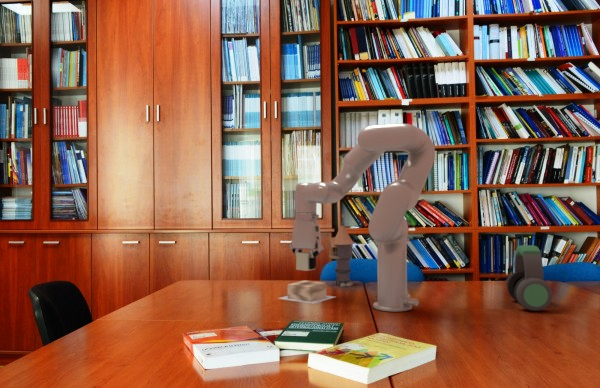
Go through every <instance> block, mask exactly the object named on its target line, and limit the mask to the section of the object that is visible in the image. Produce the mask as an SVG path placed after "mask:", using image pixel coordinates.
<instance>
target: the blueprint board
mask: <svg viewBox="0 0 600 388" xmlns="http://www.w3.org/2000/svg"><path fill="white" fill-rule="evenodd" d="M333 298H334V299H335V298H336V296H334V295H333V296H332V295H327V294H326V297H324V298H321V299H318V300H314V301H311V302H309V301H302V300H295V299H288V296H287V295H285V296H282V297H278V298H277V299H279V300H283V301H284V300H285V301H291V302H300V303H306V304H318V303H322V302H325V301H328V300H331V299H333Z"/></svg>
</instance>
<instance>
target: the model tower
mask: <svg viewBox="0 0 600 388" xmlns="http://www.w3.org/2000/svg"><path fill="white" fill-rule="evenodd" d="M343 218H345V214H344V213H341V223H340V224H339V228H338V231H337V234H336V235H335V236H334V237H329V238H328V243H327V246H326V247H328V253H329V255H328V256H329V259H332V260H336V267H335V269H334V272H335V273H336V279H335V282H334V283H335V286H337V287H341V288H343V287H352V286H354V283H353V282H352V281H351V279H350V273H351V272H352V270H351V269H350V268H351V265H350V264H351V260H352V257H353V245H355V243H354V241H353V240H352V238H351V236H350V234H349V232H348V230H347V229H346V226H345V224H344V222H343Z"/></svg>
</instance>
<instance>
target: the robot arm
mask: <svg viewBox="0 0 600 388" xmlns="http://www.w3.org/2000/svg"><path fill="white" fill-rule="evenodd" d="M356 141H357V143H356V145H354V146H353V148H352V149H350V150H349V151H348V152H347V153H346V154H345V156H344V157H343V167H342V169H341V171H340V172H339V173H338V174H337V175H336V176H335V177H334V178H333V179H332V180H331V181H326V182H325V181H320V182H314V183H313V182H300V183H299V182H298V183H296V186H295V220H294V222H293V226H292V235H291V237H292V238H291V241H290V244H289V245H288V248H289V249H290V250H291V252H292V253H293V254H294V256H295V257H296V253H298V252H304V251H303V250H308V252H310V257H311V258H309V269H314V270H316V269H315V268H316V267H317V258H318V256H319V254H321V252H323V251H324V250H325V248H324V246H323V245H322V235H321V234H322V233H321V227H320V223H319V222H320V221H317V219H319V217H320V215H319V214H317V208H318V207H317V204H335V203H338V202H339V201H341V200H342V199H343V198H344V197H345V196H346V195H347V194H349V192H350V191H351V190H352V189H353V188H354V187H355V186H356V185H357V183H358V181H359V180H360V179H361V177H362V176H363V174H364V173H365V172H366V171H367V170H368V169H369V168H370V167H371V166H372V165H373V164H374V163H375V162H377V160H378V159H379V158H380V157H381V156H382V155H383V154H384V153H385V152H406V153H408V155H407V158H406V161H405V162H404V165H402V168H401V171H400V174H399V175H398V177H397V179H396V181H391V182H390V183H388V184H387V185H386V186H385V187H383V189H382V191H381V193H380V195H379V197H378V200H377V202H376V204H375V207H374V209H373V211H372V214H371V216H370V219H369V222H368V227H367V229H368V234H369V235H370V237H371V238H372V240H373V241H375V242H377V250H376V251H377V254H376V255H377V257H376V258H377V260H376V261H377V262H376V263H377V268H376V269H377V301H375V302H373V304H372V307H373V308H374V309H375V310H378V311H383V312H392V313H394V312H397V313H398V312H407V311H410V310H412V309H413V306H415V307H418V306H419V304H420V303H419V299H417V298H412V297H411V294H410V293H408V274H407V273H408V272H407V270H408V267H407V266H408V265H407V264H408V261H407V259H408V258H407V257H408V256H407V254H408V252H407V251H408V235H409V225H408V221H407V219H406V217H405V215H406V213H407V211H409V210H412V209H413V208H414V207H415V206H416V205H417V204H418V201H419V199H420V197H421V194H422V191H423V189H424V186H425V184H426V183H427V180H428V176H429V174H430V172H431V170H432V168H433V165H434V162H435V157H436V150H435V149H436V147H435V145H434V142H433V140H432V139H431V137H430V136H429V134H427V133H426V132H425V130H423V129H422V128H420V127H417V126H415V125H413V124H410V123H390V124H372V125H367V126H365V127H362V128H361V130H360V131H359V132H358V135H357V140H356Z"/></svg>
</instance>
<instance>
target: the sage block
mask: <svg viewBox="0 0 600 388" xmlns="http://www.w3.org/2000/svg"><path fill="white" fill-rule="evenodd" d="M309 258H311V257H310V252H309V251H302V252H298V253H296V256H295V270H297V271H305V272H308V271H314V270H316V268H315V269H309Z"/></svg>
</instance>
